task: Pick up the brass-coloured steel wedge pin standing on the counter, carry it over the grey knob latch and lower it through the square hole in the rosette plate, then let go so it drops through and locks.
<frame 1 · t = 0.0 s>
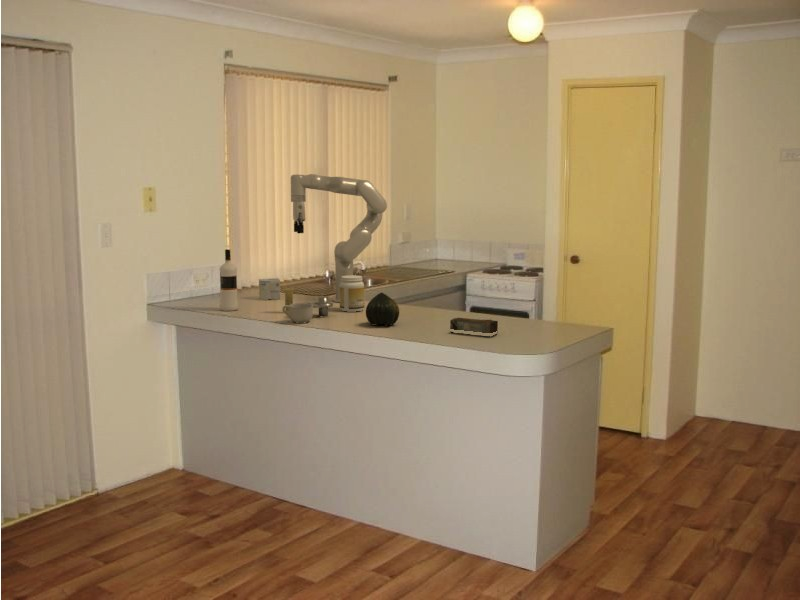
hand: (298, 232, 410), 37 cm above the worktop, tool pointing down, fingers open, 9 cm apart
teacup: (298, 322, 364), on the worktop
vodka: (229, 310, 395), on the worktop
light bulb box: (269, 299, 429), on the worktop
grey knob latch: (323, 316, 379), on the worktop
squash: (382, 325, 358), on the worktop
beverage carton: (473, 334, 339), on the worktop
supplement tub: (352, 310, 395), on the worktop
wedge pin: (289, 312, 388), on the worktop
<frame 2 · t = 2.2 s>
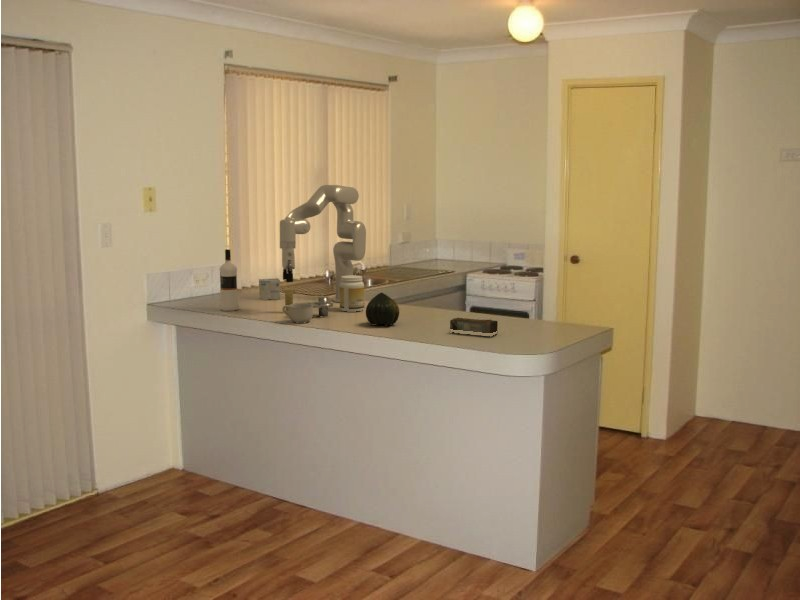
hand: (287, 280, 385), 16 cm above the worktop, tool pointing down, fingers open, 9 cm apart
nothing on the worktop moved.
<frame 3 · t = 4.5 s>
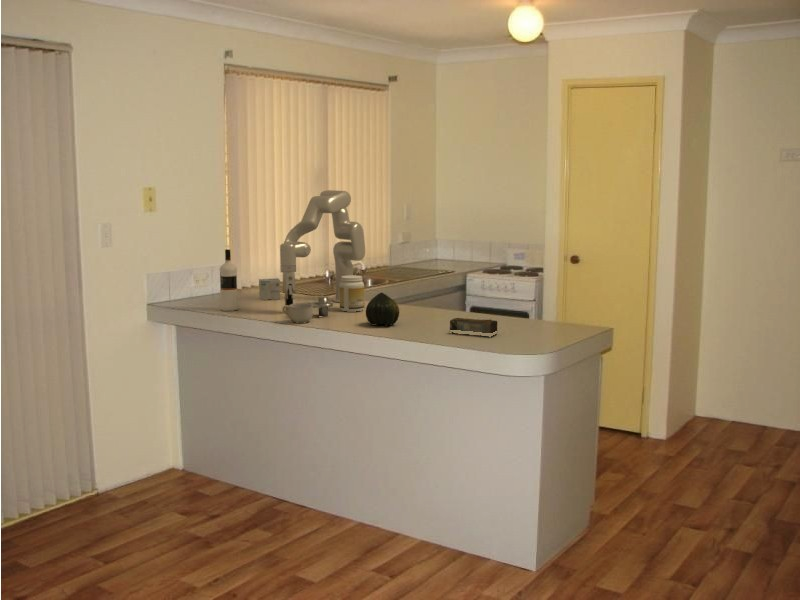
hand: (288, 306, 387), 3 cm above the worktop, tool pointing down, fingers closed on wedge pin, 3 cm apart
wedge pin: (289, 312, 388), on the worktop, touching gripper
everything else where it was.
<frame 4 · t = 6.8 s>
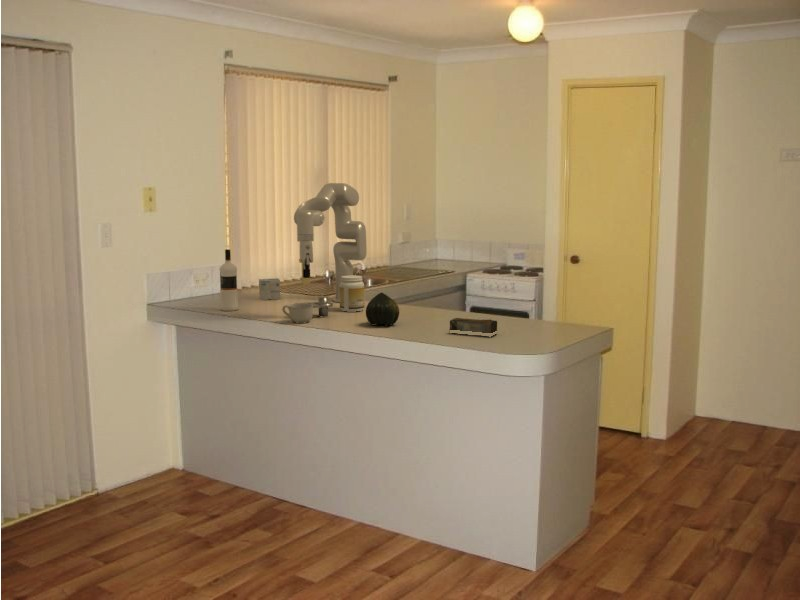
hand: (305, 276, 373), 19 cm above the worktop, tool pointing down, fingers closed on wedge pin, 3 cm apart
wedge pin: (305, 283, 374), point 16 cm above the worktop, touching gripper
everything else where it was.
when the fingers open (7 cm above the worktop, at t = 9.6 s): wedge pin drops 4 cm, on the worktop.
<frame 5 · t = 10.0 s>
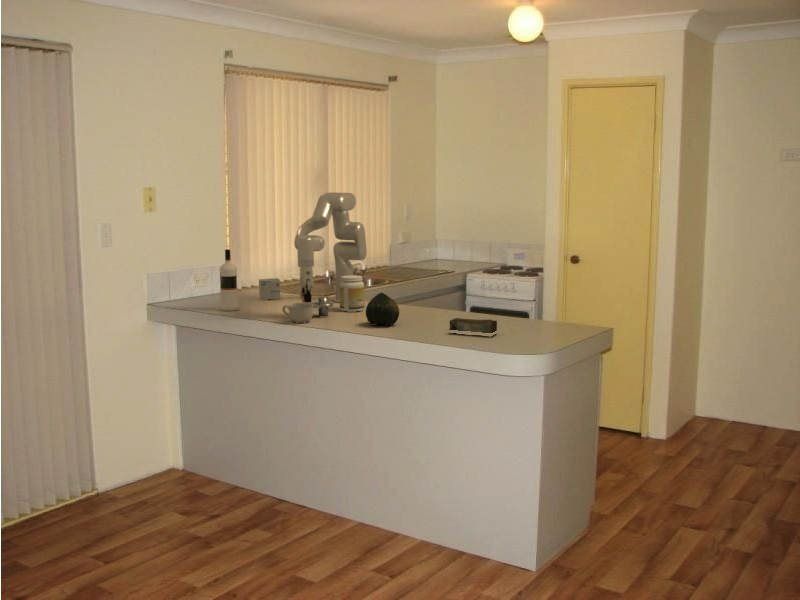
hand: (306, 300, 375), 8 cm above the worktop, tool pointing down, fingers open, 7 cm apart
wedge pin: (306, 316, 376), on the worktop
everything else where it was.
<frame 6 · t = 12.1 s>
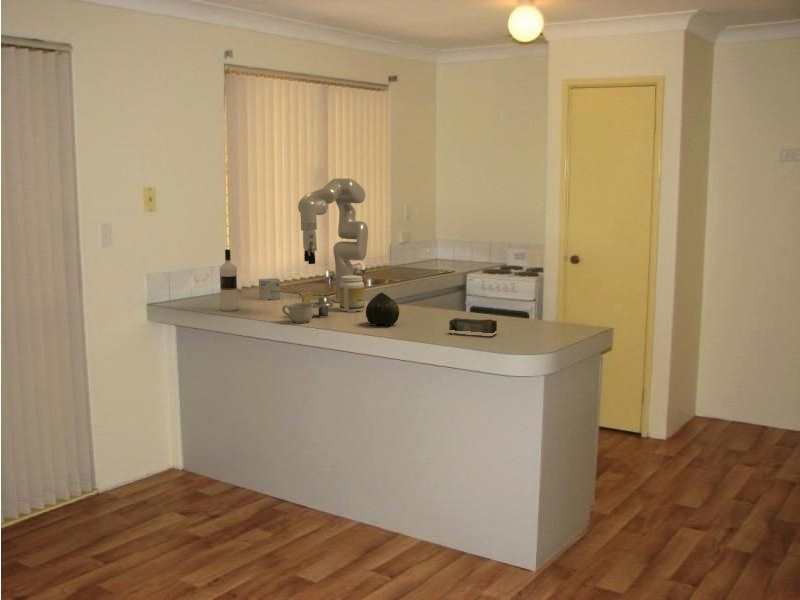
hand: (309, 262, 382), 25 cm above the worktop, tool pointing down, fingers open, 9 cm apart
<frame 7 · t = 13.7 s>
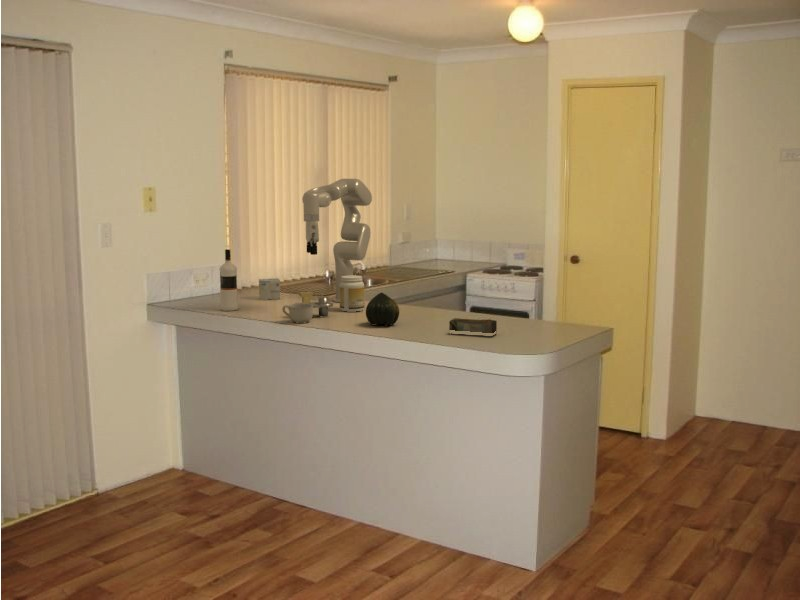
hand: (311, 253, 389), 28 cm above the worktop, tool pointing down, fingers open, 9 cm apart
at the end: wedge pin 0.1 cm from the target spot on the grey knob latch, point 0.0 cm above the grey knob latch's base; wedge pin tilted 0°; the gripper is holding nothing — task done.
